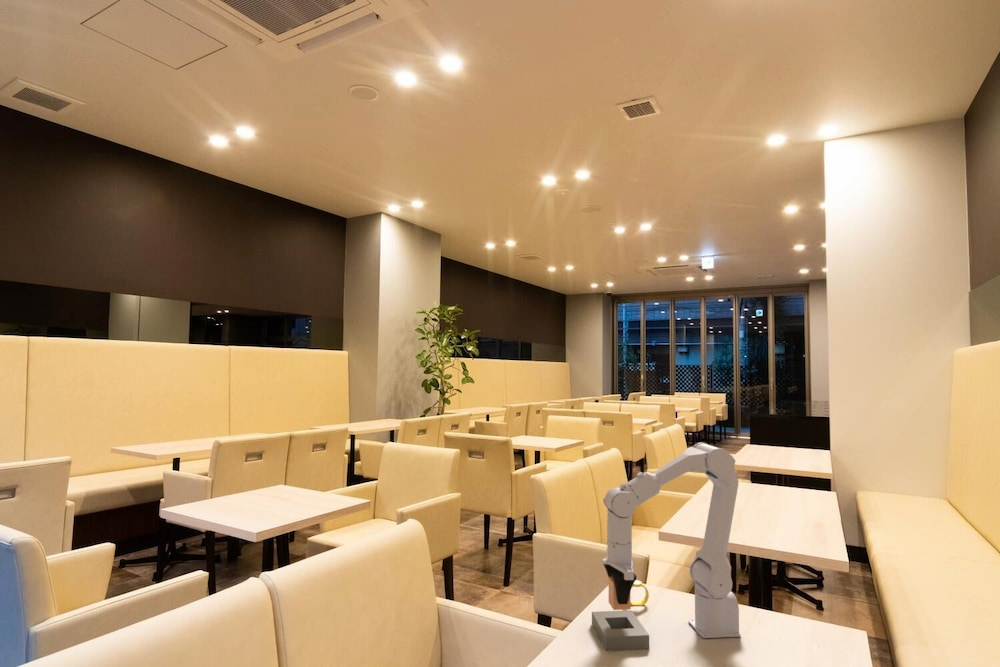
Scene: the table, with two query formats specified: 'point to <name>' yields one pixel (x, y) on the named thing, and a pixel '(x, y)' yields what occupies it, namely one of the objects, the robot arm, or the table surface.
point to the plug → (613, 597)
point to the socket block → (620, 630)
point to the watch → (639, 584)
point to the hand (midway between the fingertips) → (619, 599)
